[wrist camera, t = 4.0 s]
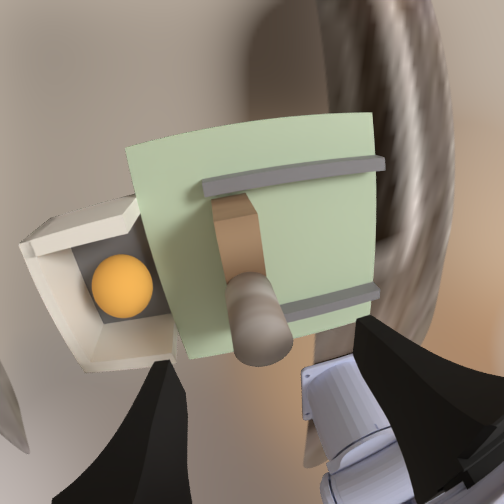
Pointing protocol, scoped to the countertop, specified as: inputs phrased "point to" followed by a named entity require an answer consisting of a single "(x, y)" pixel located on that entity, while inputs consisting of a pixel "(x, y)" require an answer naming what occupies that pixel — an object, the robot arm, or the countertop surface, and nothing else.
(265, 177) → the pitch
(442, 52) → the countertop surface
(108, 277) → the ball
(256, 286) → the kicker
